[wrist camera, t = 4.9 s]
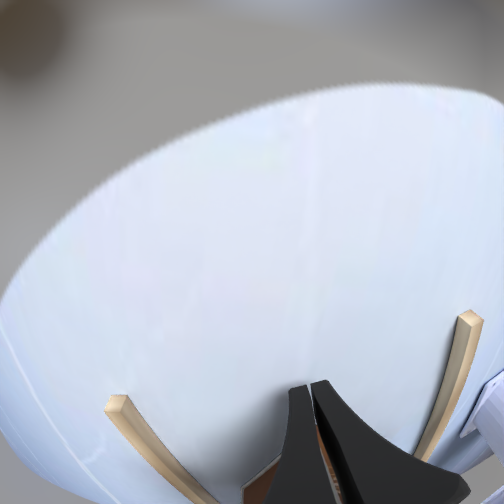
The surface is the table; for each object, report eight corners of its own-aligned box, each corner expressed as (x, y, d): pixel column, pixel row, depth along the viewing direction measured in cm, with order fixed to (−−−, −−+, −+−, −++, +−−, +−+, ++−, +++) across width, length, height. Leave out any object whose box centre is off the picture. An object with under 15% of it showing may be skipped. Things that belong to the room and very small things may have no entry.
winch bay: (470, 309, 11) (535, 362, 6) (409, 473, 17) (426, 510, 12) (111, 395, 11) (75, 477, 6) (226, 517, 17) (226, 558, 12)
